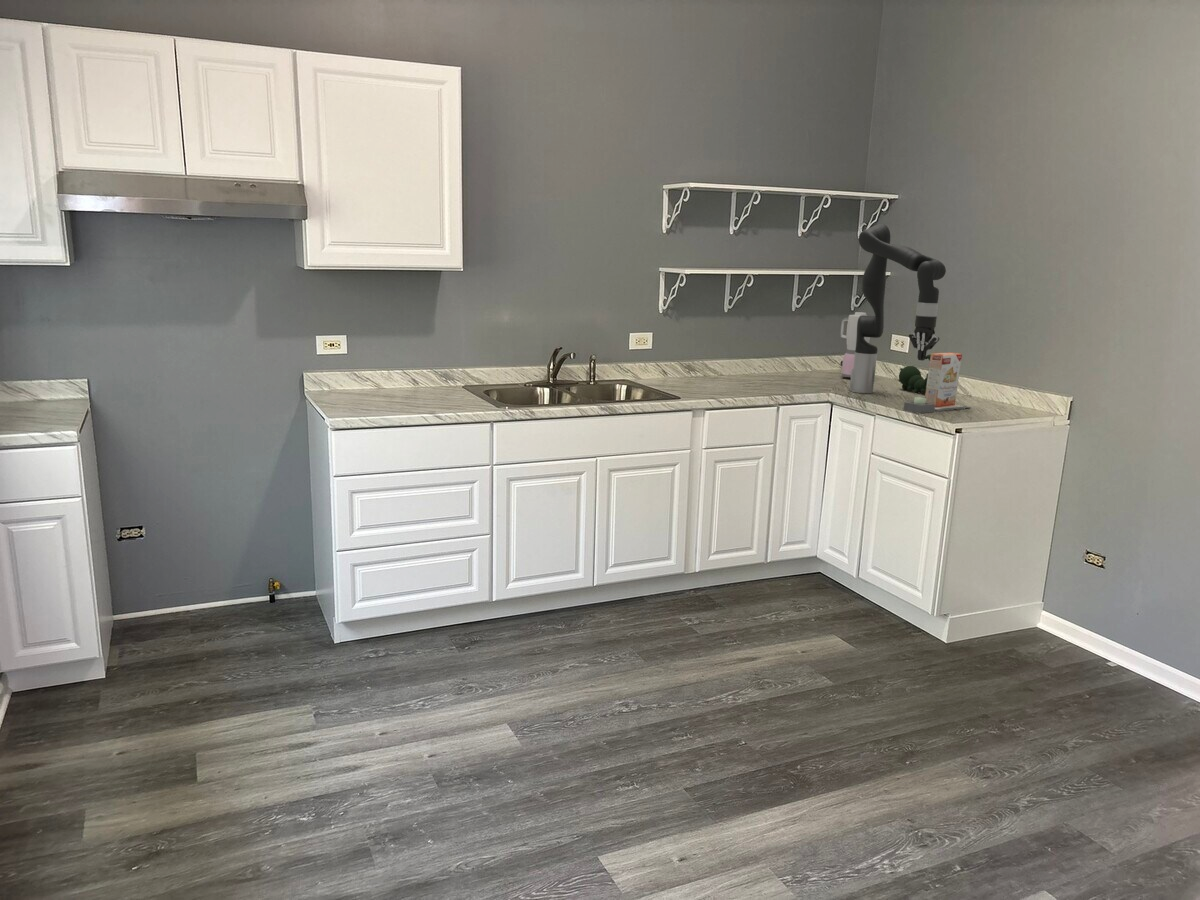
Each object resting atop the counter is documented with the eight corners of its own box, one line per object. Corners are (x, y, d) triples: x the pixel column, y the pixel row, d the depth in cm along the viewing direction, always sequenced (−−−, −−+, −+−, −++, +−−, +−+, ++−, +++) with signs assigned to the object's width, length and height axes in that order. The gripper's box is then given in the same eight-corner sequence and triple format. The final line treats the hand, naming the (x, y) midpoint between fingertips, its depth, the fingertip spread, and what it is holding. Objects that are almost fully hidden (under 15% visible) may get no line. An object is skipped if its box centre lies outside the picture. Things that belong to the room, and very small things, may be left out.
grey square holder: (903, 409, 338) (904, 402, 337) (917, 408, 342) (918, 401, 341) (920, 413, 331) (921, 405, 330) (934, 411, 335) (935, 404, 334)
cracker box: (936, 407, 340) (943, 354, 336) (923, 405, 345) (929, 353, 340) (956, 405, 349) (962, 353, 344) (942, 402, 354) (949, 351, 349)
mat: (908, 405, 348) (908, 403, 348) (941, 402, 358) (941, 401, 358) (937, 411, 336) (937, 409, 336) (970, 408, 346) (970, 406, 346)
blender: (871, 379, 424) (878, 313, 417) (861, 381, 415) (868, 314, 408) (840, 375, 434) (847, 311, 426) (830, 377, 424) (836, 311, 417)
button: (911, 407, 337) (912, 397, 336) (918, 407, 339) (919, 396, 338) (919, 409, 333) (921, 399, 332) (927, 408, 335) (928, 398, 335)
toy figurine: (940, 400, 377) (906, 386, 400) (948, 357, 371) (913, 345, 394) (921, 400, 374) (888, 386, 397) (929, 357, 368) (895, 345, 391)
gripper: (947, 316, 325) (942, 361, 329) (918, 313, 336) (913, 357, 340) (934, 316, 321) (929, 362, 325) (905, 313, 332) (900, 358, 336)
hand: (921, 360), depth 332 cm, fingers closed
